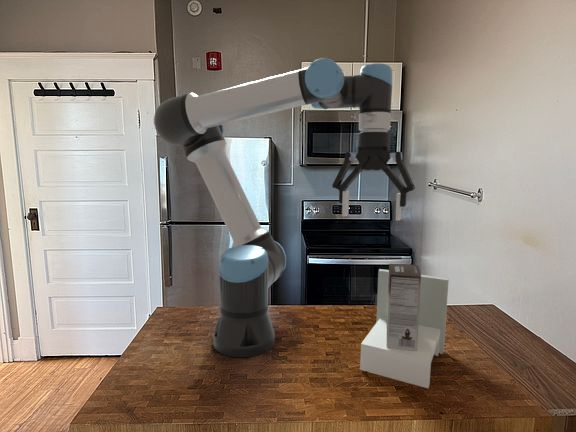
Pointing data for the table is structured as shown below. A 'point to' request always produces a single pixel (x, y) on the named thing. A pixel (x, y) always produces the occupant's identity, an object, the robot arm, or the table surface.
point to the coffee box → (403, 306)
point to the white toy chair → (429, 340)
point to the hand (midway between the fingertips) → (370, 218)
